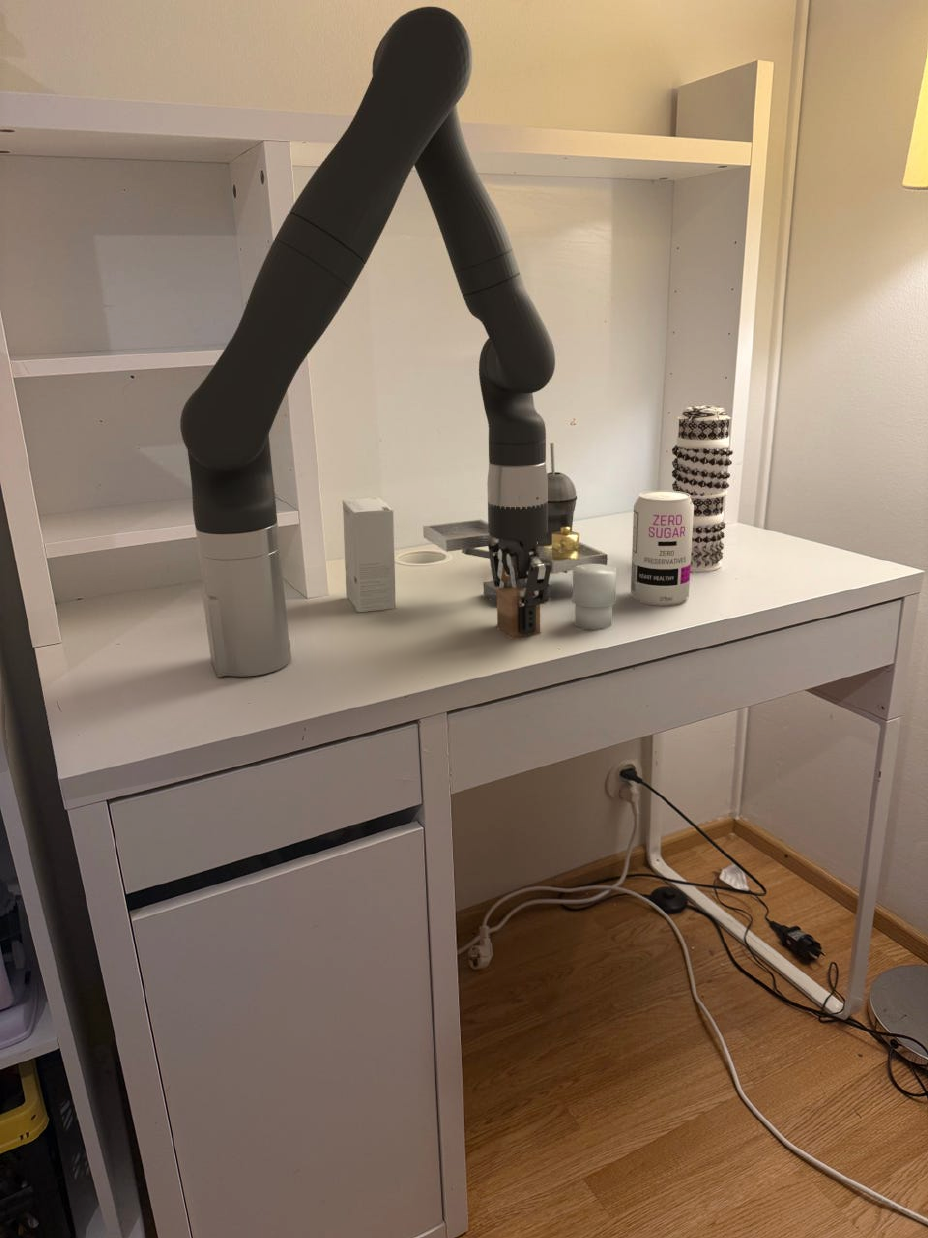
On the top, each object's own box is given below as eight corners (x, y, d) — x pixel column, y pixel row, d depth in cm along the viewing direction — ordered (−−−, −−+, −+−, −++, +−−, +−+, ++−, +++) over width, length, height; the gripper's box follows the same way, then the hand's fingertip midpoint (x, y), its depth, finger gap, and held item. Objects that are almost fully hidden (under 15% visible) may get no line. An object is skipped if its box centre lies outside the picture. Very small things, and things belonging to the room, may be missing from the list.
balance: (449, 618, 121) (446, 539, 117) (426, 600, 128) (423, 526, 125) (606, 593, 129) (608, 519, 126) (576, 577, 137) (577, 507, 134)
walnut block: (511, 638, 113) (510, 597, 111) (497, 628, 117) (496, 588, 115) (540, 632, 114) (540, 592, 113) (525, 623, 118) (525, 584, 116)
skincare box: (346, 597, 131) (338, 499, 126) (385, 592, 133) (379, 495, 128) (358, 614, 123) (350, 510, 118) (399, 609, 125) (394, 506, 120)
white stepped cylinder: (622, 626, 116) (624, 572, 113) (585, 633, 114) (586, 577, 111) (600, 614, 121) (602, 561, 118) (564, 620, 119) (565, 567, 116)
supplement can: (664, 586, 132) (669, 487, 127) (700, 601, 125) (707, 496, 120) (619, 595, 128) (622, 493, 124) (654, 610, 121) (659, 503, 116)
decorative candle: (669, 572, 139) (677, 410, 130) (663, 557, 147) (671, 404, 139) (728, 572, 137) (740, 409, 129) (719, 557, 146) (730, 403, 138)
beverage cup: (540, 576, 139) (540, 448, 132) (525, 564, 145) (524, 442, 139) (583, 571, 140) (585, 445, 134) (566, 560, 147) (567, 439, 140)
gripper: (572, 505, 105) (570, 639, 110) (519, 486, 117) (520, 607, 123) (515, 512, 102) (516, 649, 108) (468, 491, 115) (471, 615, 120)
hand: (518, 626), depth 115 cm, fingers closed on walnut block, 4 cm apart
